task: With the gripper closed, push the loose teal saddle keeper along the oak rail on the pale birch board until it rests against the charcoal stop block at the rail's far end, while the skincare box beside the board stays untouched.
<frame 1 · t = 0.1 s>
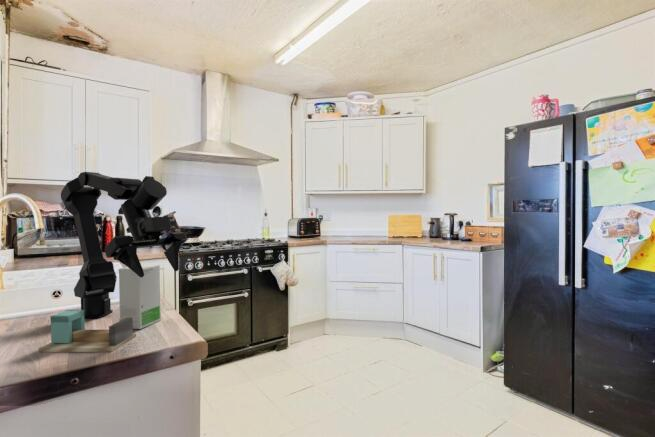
hand: (160, 273, 84), 15 cm above the countertop, tool tilted 35°, fingers open, 9 cm apart
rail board: (90, 343, 78), on the countertop
keeper: (68, 325, 78), point 4 cm above the countertop, slide at 0.0 cm
skincare box: (140, 324, 91), on the countertop
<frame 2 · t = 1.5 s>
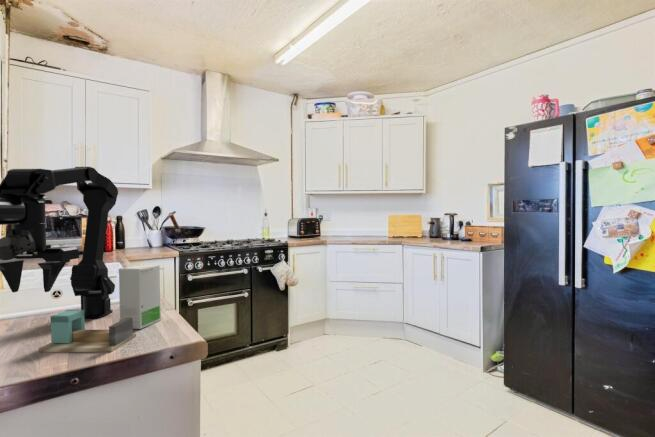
hand: (31, 291, 78), 12 cm above the countertop, tool pointing down, fingers open, 7 cm apart
nothing on the countertop moved.
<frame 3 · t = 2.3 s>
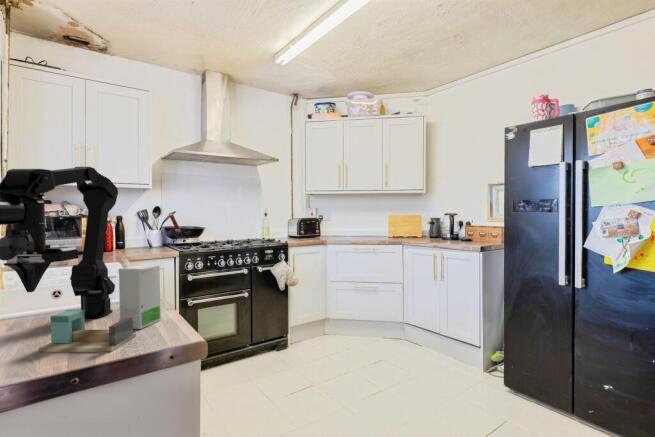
hand: (30, 291, 78), 12 cm above the countertop, tool pointing down, fingers closed
nothing on the countertop moved.
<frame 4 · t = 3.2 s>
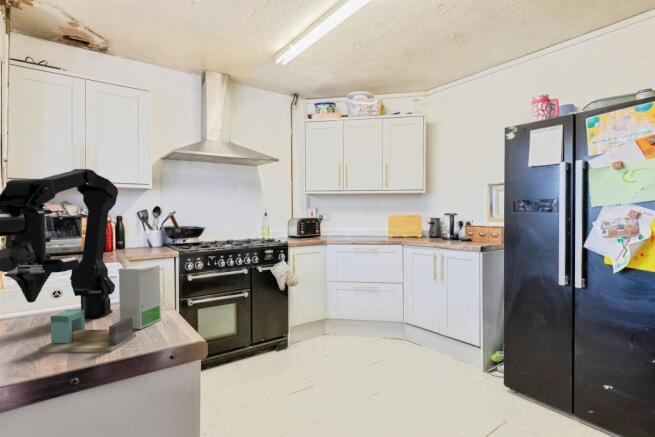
hand: (31, 302, 78), 10 cm above the countertop, tool pointing down, fingers closed
nothing on the countertop moved.
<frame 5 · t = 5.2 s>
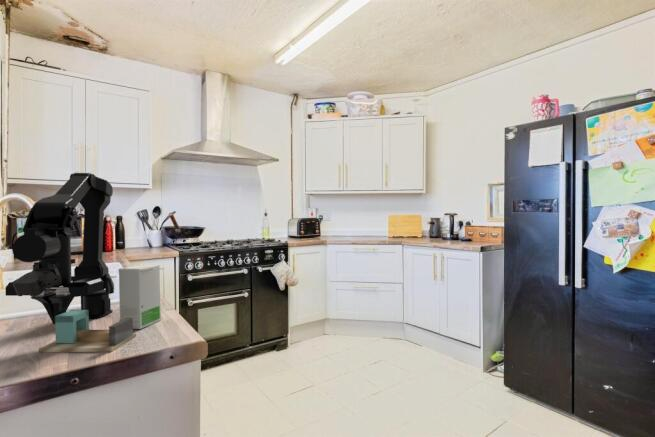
hand: (56, 324, 78), 5 cm above the countertop, tool pointing down, fingers closed
keeper: (72, 325, 78), point 4 cm above the countertop, slide at 1.0 cm, touching gripper
everything else where it was.
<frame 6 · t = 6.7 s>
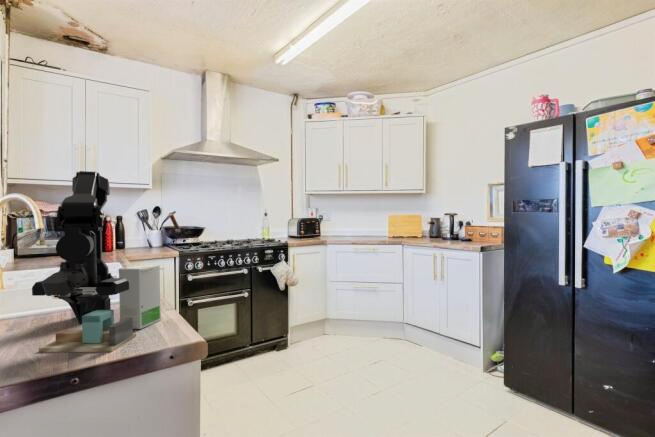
hand: (82, 324, 78), 5 cm above the countertop, tool pointing down, fingers closed
keeper: (98, 325, 78), point 4 cm above the countertop, slide at 7.1 cm, touching gripper
everything else where it was.
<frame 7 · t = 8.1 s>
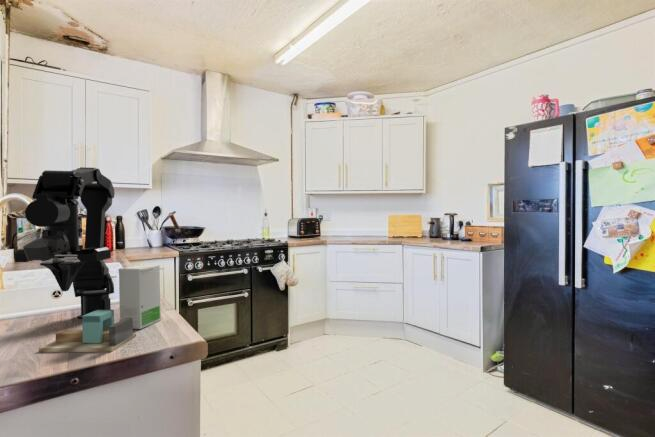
hand: (65, 290, 80), 12 cm above the countertop, tool pointing down, fingers closed
keeper: (98, 325, 78), point 4 cm above the countertop, slide at 7.1 cm
everything else where it was.
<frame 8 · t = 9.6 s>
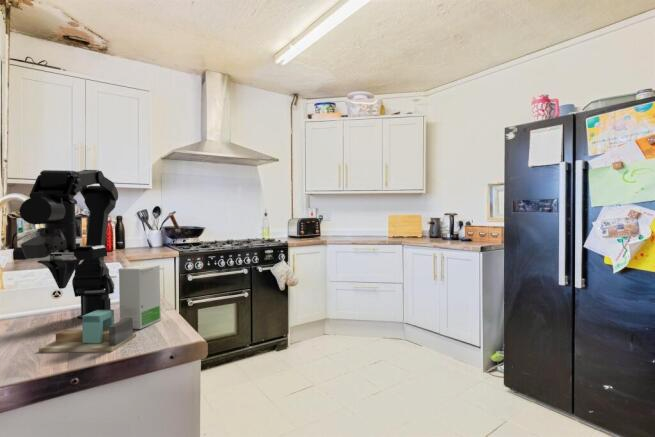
hand: (62, 288, 81), 12 cm above the countertop, tool pointing down, fingers closed
nothing on the countertop moved.
at the end: keeper slide at 7.1 cm; skincare box moved 0.2 cm from its start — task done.
